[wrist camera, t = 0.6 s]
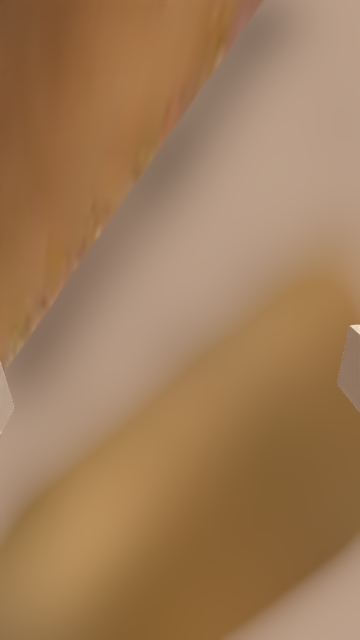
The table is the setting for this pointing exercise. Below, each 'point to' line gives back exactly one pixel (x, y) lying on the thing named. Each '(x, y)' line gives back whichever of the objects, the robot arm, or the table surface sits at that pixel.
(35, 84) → the table surface
